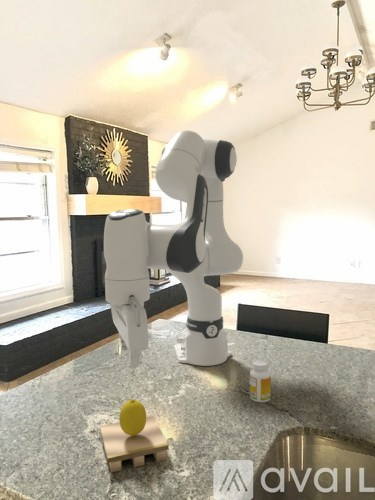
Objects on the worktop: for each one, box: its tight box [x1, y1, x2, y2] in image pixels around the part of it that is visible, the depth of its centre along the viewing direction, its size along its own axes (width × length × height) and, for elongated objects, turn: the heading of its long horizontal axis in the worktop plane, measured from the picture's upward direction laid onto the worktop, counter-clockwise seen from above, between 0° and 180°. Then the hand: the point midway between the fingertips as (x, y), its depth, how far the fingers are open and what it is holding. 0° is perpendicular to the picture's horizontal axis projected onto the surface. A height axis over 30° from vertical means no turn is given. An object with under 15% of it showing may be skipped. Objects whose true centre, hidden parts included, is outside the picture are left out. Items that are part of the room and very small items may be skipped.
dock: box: [99, 415, 170, 473], centre depth 82 cm, size 12×12×3 cm
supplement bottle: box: [249, 359, 272, 403], centre depth 103 cm, size 5×5×10 cm
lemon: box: [118, 398, 147, 437], centre depth 81 cm, size 6×6×8 cm
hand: (129, 357), depth 81 cm, fingers open, 8 cm apart
